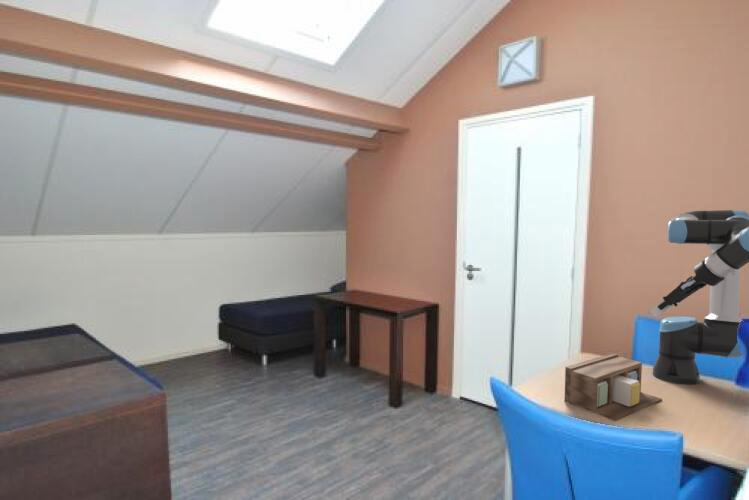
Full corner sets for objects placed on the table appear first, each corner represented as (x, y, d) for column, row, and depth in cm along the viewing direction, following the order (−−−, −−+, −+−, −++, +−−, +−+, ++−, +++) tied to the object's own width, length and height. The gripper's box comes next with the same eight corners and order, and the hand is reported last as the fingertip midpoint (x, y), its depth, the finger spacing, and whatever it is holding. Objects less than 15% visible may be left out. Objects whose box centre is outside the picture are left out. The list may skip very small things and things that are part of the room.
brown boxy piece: (661, 400, 153) (663, 366, 152) (615, 420, 138) (616, 383, 138) (611, 384, 168) (612, 353, 167) (564, 401, 153) (565, 367, 152)
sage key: (607, 404, 148) (608, 381, 148) (598, 407, 146) (599, 385, 145) (585, 396, 155) (586, 374, 154) (577, 399, 152) (577, 377, 151)
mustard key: (639, 403, 148) (640, 381, 148) (631, 407, 146) (632, 384, 145) (616, 396, 155) (617, 374, 154) (608, 399, 152) (609, 377, 152)
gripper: (715, 280, 130) (651, 325, 146) (734, 277, 137) (671, 320, 153) (695, 260, 134) (635, 306, 150) (714, 258, 141) (655, 302, 157)
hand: (653, 313), depth 151 cm, fingers closed
